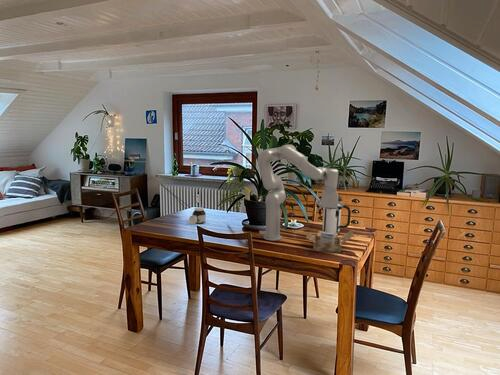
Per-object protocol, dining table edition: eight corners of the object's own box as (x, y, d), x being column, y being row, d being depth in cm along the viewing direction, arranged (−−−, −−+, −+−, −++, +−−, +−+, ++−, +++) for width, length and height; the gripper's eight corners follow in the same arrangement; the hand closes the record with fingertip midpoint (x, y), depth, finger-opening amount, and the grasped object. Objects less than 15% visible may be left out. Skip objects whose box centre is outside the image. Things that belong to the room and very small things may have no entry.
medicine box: (319, 246, 222) (320, 233, 221) (321, 244, 226) (322, 231, 225) (332, 248, 219) (333, 234, 218) (333, 246, 223) (334, 232, 222)
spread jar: (206, 221, 276) (206, 207, 274) (203, 225, 265) (203, 210, 263) (191, 221, 277) (191, 206, 275) (187, 225, 266) (187, 209, 264)
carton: (304, 252, 213) (305, 241, 212) (307, 240, 236) (307, 230, 235) (341, 255, 209) (342, 244, 208) (339, 242, 232) (340, 232, 231)
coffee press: (329, 237, 242) (332, 194, 237) (316, 231, 257) (318, 190, 252) (349, 235, 250) (352, 193, 245) (335, 229, 264) (337, 189, 259)
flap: (342, 243, 213) (352, 234, 211) (341, 237, 225) (351, 229, 223) (343, 243, 213) (353, 235, 211) (342, 237, 225) (352, 229, 223)
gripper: (315, 188, 214) (313, 216, 217) (345, 191, 211) (342, 219, 214) (316, 186, 221) (314, 213, 224) (344, 189, 218) (342, 216, 221)
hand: (328, 216), depth 219 cm, fingers open, 9 cm apart
